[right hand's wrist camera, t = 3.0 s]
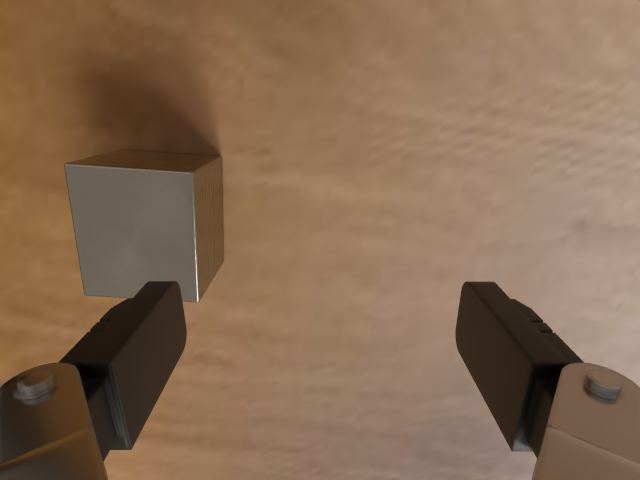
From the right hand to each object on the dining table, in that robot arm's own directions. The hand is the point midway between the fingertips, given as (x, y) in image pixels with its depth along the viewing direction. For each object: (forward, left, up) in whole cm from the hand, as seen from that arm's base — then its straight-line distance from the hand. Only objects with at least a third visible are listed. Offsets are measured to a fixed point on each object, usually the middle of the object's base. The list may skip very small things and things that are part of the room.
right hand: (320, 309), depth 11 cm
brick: (-6, +4, -8) cm, 10 cm away
